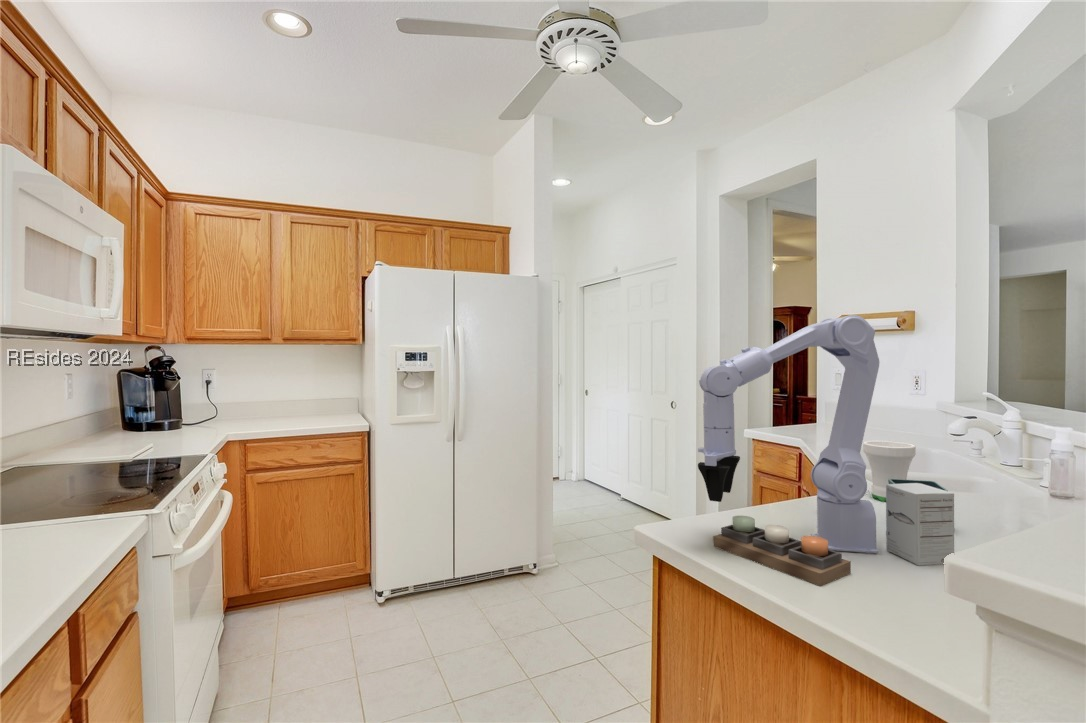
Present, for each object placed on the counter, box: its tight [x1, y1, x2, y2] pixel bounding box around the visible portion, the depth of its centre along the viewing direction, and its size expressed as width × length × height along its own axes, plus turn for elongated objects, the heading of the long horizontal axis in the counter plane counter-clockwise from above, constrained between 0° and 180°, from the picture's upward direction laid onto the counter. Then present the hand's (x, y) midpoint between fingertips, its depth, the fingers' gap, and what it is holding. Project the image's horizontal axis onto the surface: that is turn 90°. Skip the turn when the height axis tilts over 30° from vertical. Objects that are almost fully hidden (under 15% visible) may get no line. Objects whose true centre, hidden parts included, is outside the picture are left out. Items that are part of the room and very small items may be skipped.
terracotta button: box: [800, 535, 828, 556], centre depth 86 cm, size 4×4×2 cm
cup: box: [862, 440, 917, 502], centre depth 131 cm, size 11×11×14 cm
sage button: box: [732, 515, 756, 532], centre depth 98 cm, size 4×4×2 cm
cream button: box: [764, 524, 790, 543], centre depth 92 cm, size 4×4×2 cm
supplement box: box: [885, 483, 955, 566], centre depth 92 cm, size 7×7×13 cm
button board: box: [712, 524, 852, 587], centre depth 92 cm, size 21×9×4 cm, turn 31°
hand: (720, 496), depth 101 cm, fingers open, 7 cm apart
